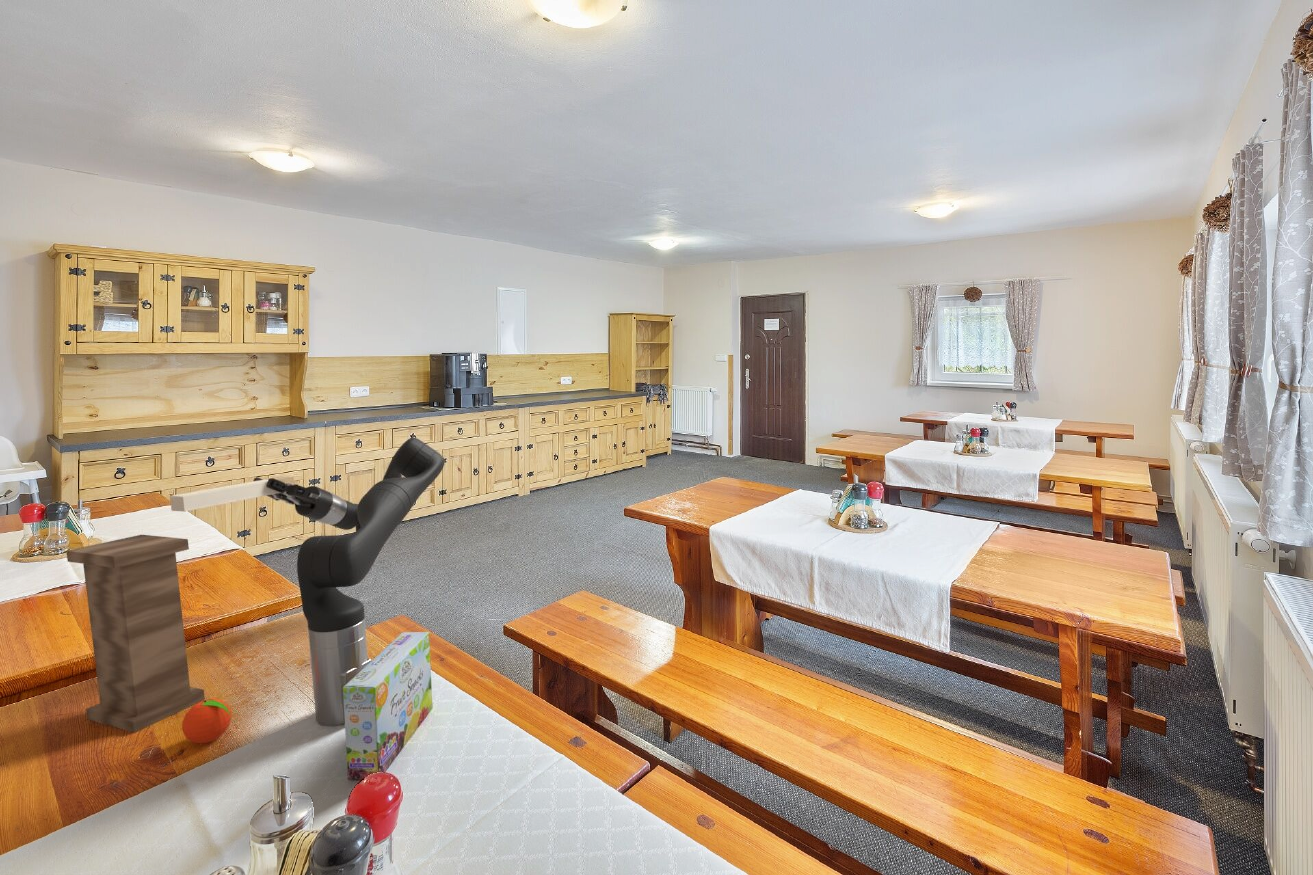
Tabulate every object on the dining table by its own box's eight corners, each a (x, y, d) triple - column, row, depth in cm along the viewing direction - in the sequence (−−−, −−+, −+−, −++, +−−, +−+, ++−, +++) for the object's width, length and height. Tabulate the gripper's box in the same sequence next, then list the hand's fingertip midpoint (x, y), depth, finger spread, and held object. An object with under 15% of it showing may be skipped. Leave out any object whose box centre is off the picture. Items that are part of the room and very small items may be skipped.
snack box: (382, 781, 94) (375, 686, 92) (346, 782, 94) (338, 687, 92) (435, 707, 115) (430, 629, 113) (405, 708, 115) (400, 630, 114)
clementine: (248, 729, 109) (245, 690, 109) (217, 752, 102) (213, 712, 102) (207, 728, 110) (203, 689, 109) (173, 751, 103) (168, 710, 103)
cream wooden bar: (295, 490, 144) (293, 476, 144) (185, 512, 122) (183, 496, 121) (282, 489, 145) (281, 476, 145) (171, 511, 123) (169, 495, 123)
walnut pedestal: (204, 699, 120) (187, 539, 117) (134, 732, 109) (113, 556, 106) (159, 688, 126) (141, 534, 123) (87, 719, 114) (66, 550, 111)
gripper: (306, 490, 157) (246, 465, 142) (348, 492, 152) (290, 467, 137) (295, 519, 154) (232, 496, 139) (337, 522, 149) (277, 499, 134)
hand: (261, 482), depth 138 cm, fingers closed on cream wooden bar, 4 cm apart
